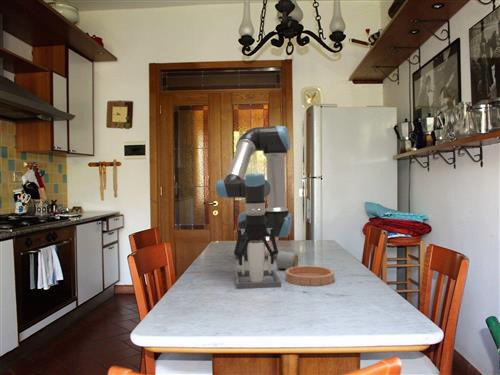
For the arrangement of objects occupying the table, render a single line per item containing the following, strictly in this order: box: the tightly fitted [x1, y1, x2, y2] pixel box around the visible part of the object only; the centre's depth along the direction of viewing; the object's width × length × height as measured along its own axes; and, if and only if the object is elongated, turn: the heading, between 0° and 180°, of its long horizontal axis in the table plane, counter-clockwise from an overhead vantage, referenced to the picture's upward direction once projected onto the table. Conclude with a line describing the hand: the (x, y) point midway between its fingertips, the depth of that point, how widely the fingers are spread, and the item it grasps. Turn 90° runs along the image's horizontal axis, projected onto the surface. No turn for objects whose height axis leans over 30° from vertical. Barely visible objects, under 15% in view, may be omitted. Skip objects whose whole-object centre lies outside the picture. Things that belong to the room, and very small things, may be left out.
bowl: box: [284, 265, 335, 287], centre depth 143 cm, size 18×18×3 cm
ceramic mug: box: [276, 250, 299, 270], centre depth 162 cm, size 11×8×8 cm
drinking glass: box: [247, 241, 266, 282], centre depth 142 cm, size 7×7×15 cm
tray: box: [234, 269, 282, 289], centre depth 142 cm, size 18×16×2 cm
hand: (256, 273), depth 142 cm, fingers open, 9 cm apart
